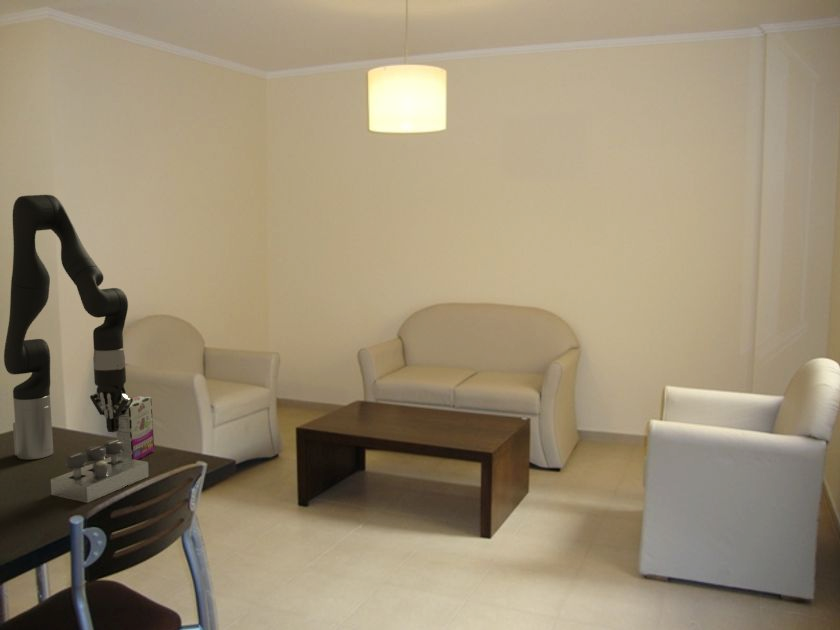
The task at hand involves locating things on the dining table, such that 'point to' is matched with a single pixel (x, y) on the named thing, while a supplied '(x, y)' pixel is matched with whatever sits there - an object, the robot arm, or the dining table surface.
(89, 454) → the knob
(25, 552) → the dining table surface
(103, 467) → the pot post
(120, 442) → the knob
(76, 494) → the mount
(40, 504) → the dining table surface
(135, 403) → the candy bar box
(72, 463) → the knob
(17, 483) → the dining table surface
